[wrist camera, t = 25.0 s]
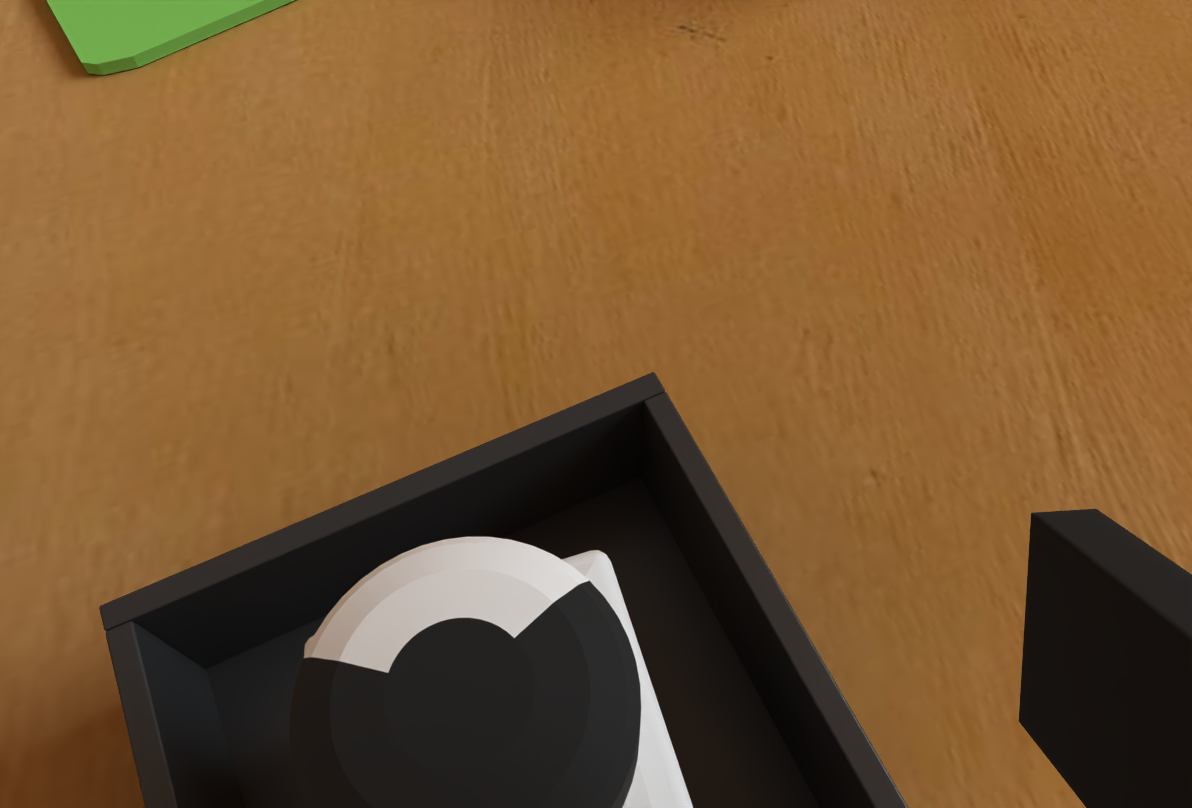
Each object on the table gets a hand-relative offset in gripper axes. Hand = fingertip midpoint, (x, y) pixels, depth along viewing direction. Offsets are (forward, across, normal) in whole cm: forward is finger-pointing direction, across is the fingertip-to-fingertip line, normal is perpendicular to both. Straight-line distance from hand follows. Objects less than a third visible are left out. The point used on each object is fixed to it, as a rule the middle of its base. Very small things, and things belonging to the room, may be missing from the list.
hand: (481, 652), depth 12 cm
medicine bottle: (+13, -1, -11) cm, 17 cm away
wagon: (+41, -16, +16) cm, 47 cm away
